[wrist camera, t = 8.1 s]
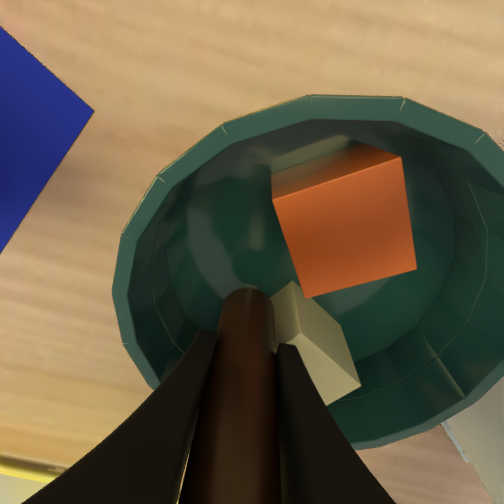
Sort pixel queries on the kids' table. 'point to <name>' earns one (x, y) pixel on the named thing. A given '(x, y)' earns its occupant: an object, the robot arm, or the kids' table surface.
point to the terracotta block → (345, 218)
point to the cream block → (315, 342)
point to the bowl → (345, 300)
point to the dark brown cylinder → (238, 411)
